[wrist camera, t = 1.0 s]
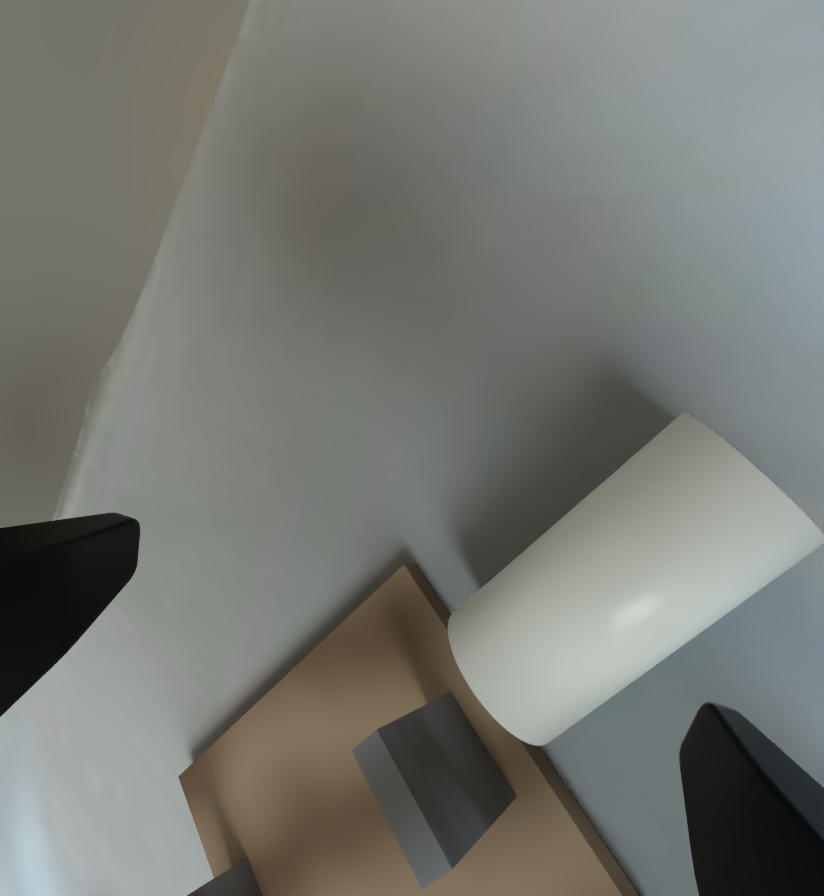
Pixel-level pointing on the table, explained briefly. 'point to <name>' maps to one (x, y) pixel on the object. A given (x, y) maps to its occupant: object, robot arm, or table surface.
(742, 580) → the cylinder
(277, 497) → the table surface
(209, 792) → the roll holder
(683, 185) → the table surface
